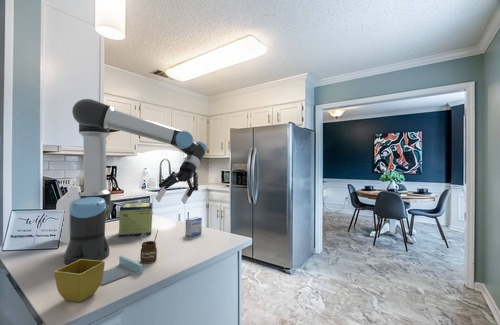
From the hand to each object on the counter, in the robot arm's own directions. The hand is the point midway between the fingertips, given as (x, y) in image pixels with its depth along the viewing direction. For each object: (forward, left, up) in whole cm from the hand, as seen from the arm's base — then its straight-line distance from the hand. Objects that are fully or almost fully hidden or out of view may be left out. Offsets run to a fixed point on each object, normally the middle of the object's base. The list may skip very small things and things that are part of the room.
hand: (169, 201), depth 104 cm
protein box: (-35, +5, -22) cm, 42 cm away
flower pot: (+9, -37, -22) cm, 44 cm away
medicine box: (-10, +23, -22) cm, 33 cm away
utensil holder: (+2, -11, -22) cm, 25 cm away
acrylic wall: (+3, -19, -22) cm, 29 cm away
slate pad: (+3, -26, -22) cm, 34 cm away
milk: (-51, -18, -22) cm, 58 cm away
